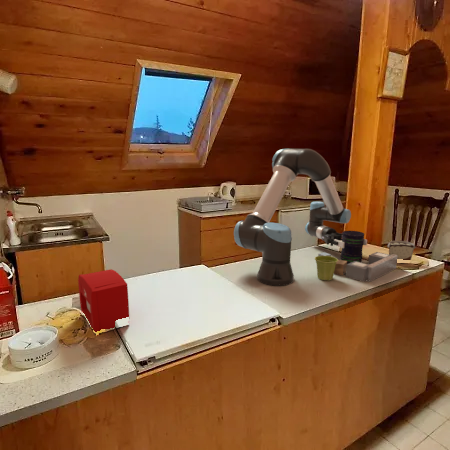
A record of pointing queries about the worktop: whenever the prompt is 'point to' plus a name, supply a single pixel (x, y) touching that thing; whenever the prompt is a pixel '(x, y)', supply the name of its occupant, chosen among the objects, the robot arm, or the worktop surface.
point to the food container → (401, 249)
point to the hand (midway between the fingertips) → (355, 243)
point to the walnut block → (340, 267)
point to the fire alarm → (103, 298)
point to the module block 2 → (376, 257)
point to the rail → (381, 267)
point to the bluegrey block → (324, 254)
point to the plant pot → (325, 267)
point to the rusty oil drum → (352, 246)
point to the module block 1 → (356, 270)
